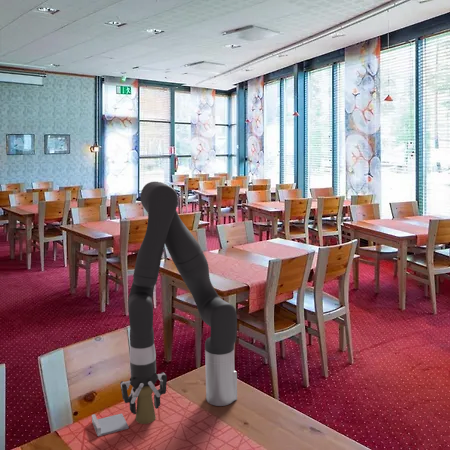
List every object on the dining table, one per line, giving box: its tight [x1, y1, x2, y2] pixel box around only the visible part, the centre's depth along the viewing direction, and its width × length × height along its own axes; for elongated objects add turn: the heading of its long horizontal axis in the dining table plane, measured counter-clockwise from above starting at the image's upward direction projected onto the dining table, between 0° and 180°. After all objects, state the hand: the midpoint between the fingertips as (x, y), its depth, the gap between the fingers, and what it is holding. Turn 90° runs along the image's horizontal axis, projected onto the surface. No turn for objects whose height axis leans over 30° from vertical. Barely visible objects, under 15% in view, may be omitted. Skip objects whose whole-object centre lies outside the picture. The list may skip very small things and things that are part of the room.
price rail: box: [91, 413, 101, 437], centre depth 147 cm, size 1×8×2 cm, turn 25°
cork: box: [135, 386, 157, 425], centre depth 151 cm, size 6×6×11 cm
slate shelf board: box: [97, 413, 129, 437], centre depth 149 cm, size 8×8×1 cm
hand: (145, 410), depth 152 cm, fingers open, 6 cm apart
